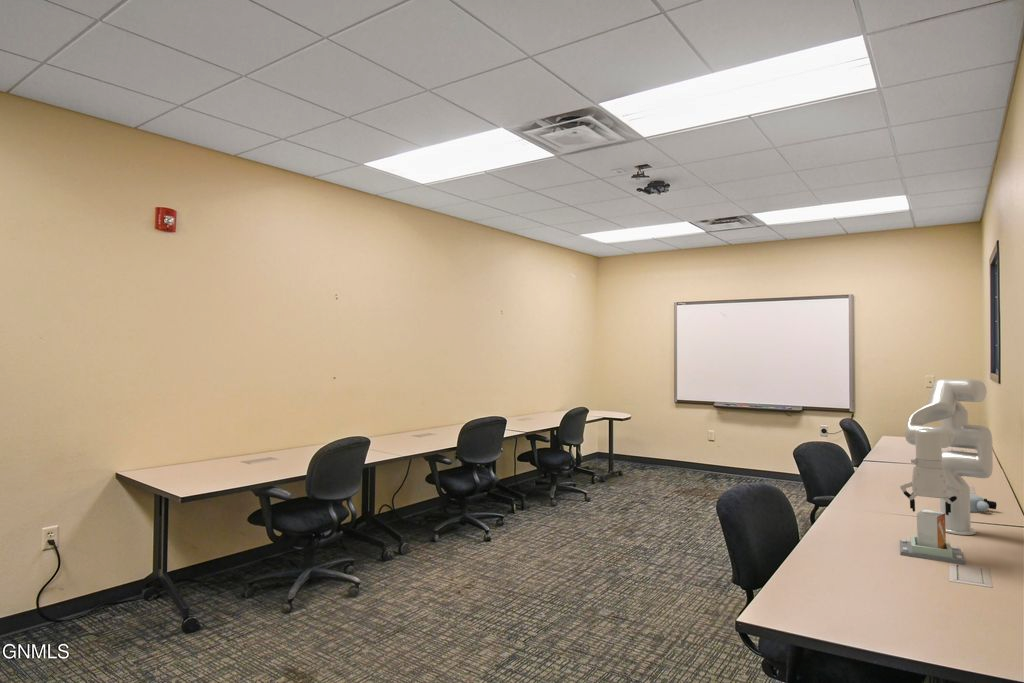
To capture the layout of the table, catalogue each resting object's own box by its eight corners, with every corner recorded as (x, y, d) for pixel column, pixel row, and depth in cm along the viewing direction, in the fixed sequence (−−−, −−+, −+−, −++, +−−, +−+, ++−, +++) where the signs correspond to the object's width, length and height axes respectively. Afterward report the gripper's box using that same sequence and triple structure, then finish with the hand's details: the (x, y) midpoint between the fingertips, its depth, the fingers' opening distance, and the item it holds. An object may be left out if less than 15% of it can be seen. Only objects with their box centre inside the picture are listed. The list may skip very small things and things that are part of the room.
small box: (938, 554, 201) (937, 516, 202) (916, 549, 207) (916, 512, 207) (946, 550, 206) (945, 512, 207) (925, 545, 211) (924, 509, 212)
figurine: (941, 509, 265) (998, 520, 255) (943, 490, 265) (1000, 501, 254) (938, 501, 280) (991, 511, 269) (940, 484, 280) (993, 493, 269)
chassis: (899, 543, 218) (899, 533, 218) (960, 552, 208) (960, 541, 208) (900, 554, 205) (900, 544, 205) (965, 564, 195) (964, 553, 195)
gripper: (899, 463, 209) (901, 511, 209) (960, 468, 200) (962, 518, 199) (899, 460, 215) (900, 506, 215) (958, 464, 206) (959, 513, 206)
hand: (930, 512), depth 207 cm, fingers open, 9 cm apart
